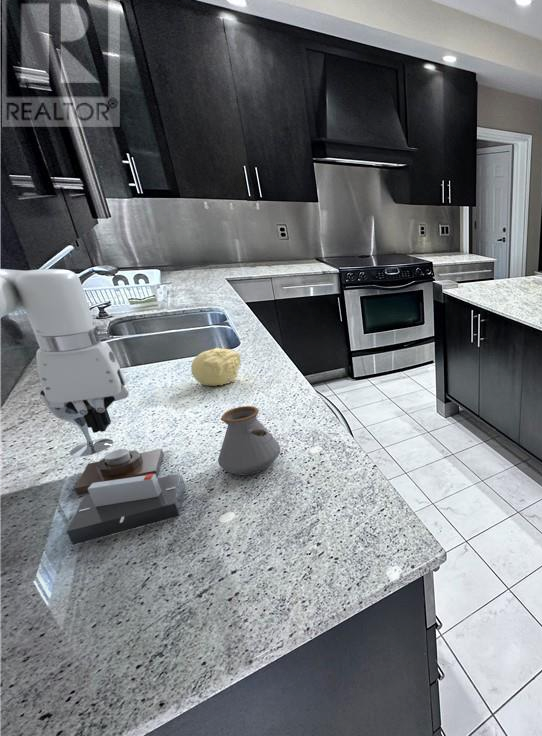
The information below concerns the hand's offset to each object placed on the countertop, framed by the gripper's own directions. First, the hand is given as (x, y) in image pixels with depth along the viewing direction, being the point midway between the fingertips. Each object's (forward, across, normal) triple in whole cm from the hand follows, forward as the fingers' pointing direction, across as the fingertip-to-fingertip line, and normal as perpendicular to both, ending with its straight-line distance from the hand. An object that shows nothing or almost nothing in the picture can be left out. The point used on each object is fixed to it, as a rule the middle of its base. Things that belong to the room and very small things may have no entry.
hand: (101, 428), depth 79 cm
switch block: (+11, -1, 0) cm, 11 cm away
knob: (+8, -5, +15) cm, 17 cm away
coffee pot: (+11, -25, +13) cm, 30 cm away
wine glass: (+11, +7, -15) cm, 20 cm away
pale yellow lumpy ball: (+11, -16, -44) cm, 48 cm away
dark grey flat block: (+11, -5, +15) cm, 19 cm away
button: (+8, -1, 0) cm, 8 cm away
